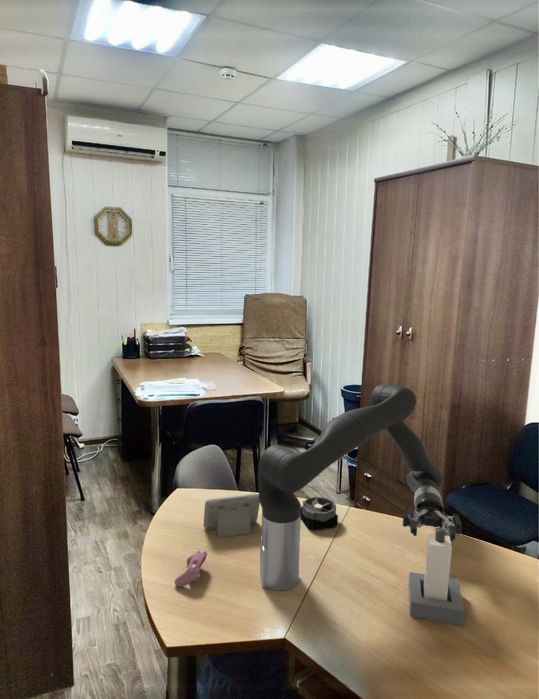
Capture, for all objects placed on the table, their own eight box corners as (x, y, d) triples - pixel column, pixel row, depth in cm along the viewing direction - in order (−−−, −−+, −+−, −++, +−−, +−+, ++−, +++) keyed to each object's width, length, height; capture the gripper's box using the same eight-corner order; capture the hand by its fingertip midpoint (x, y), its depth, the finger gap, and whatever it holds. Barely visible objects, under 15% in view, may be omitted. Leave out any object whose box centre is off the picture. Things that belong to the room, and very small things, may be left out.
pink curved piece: (188, 595, 116) (201, 573, 115) (172, 585, 117) (184, 563, 115) (201, 570, 126) (213, 549, 124) (186, 561, 126) (197, 540, 124)
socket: (463, 625, 106) (464, 611, 106) (410, 616, 109) (411, 602, 108) (456, 592, 117) (457, 579, 116) (408, 584, 119) (409, 571, 119)
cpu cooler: (327, 494, 153) (342, 510, 143) (326, 511, 154) (341, 528, 144) (296, 498, 150) (309, 515, 140) (295, 516, 151) (308, 533, 141)
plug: (445, 612, 110) (452, 537, 107) (424, 609, 111) (430, 534, 108) (443, 599, 114) (450, 526, 111) (422, 595, 116) (429, 523, 112)
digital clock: (258, 520, 148) (259, 487, 146) (261, 536, 139) (261, 501, 137) (204, 521, 146) (204, 488, 144) (202, 538, 137) (202, 503, 135)
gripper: (402, 488, 138) (404, 517, 122) (456, 495, 135) (465, 525, 119) (401, 513, 139) (402, 544, 124) (454, 520, 136) (462, 553, 120)
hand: (433, 535), depth 121 cm, fingers open, 8 cm apart
